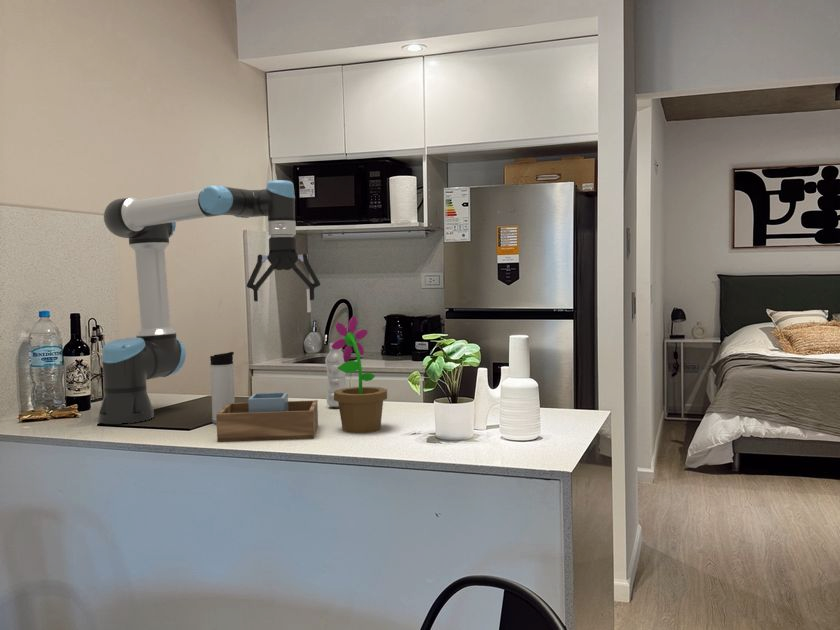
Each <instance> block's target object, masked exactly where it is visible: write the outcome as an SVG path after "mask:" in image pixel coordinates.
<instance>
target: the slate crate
mask: <svg viewBox="0 0 840 630" xmlns="http://www.w3.org/2000/svg"><path fill="white" fill-rule="evenodd" d="M247 401H248V402H247V403H248V404H249V413H252V412H283V411H288V401H289V393H288V392H259V393H257V392H256V393H255V392H254V393H253V394H252V395H251V396H250V397H249V398H248V400H247Z"/></svg>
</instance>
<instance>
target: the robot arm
mask: <svg viewBox="0 0 840 630" xmlns="http://www.w3.org/2000/svg"><path fill="white" fill-rule="evenodd" d="M294 187H295V186H294V183H293V182H292V181H291V180H283V179H278V180H277V179H275V180H274V179H273V180H269V181H268V182H266V188H264V189H245V188H236V187H235V188H234V187H229V186H223V185H218V184H215V185H214V184H213V185H212V184H211V185H207V186H205V187H204V188H203V189H199V190H191V191H186V192H180V193H173V194H168V195H162V196H161V195H160V196H156V197H150V198H144V199H139V198H136V197H125V198H117V199H115V200H113V201H111V202H110V203H109V204H108V205H107V206H106V207H105V209H104V213H103V221H104V225H105V226H106V228H107V230H108V231H109V232H110V233H111V234H113V235H115V236H117V237H119V238H123V239H128V246H129V247H130V248H132V249H133V250H134V255H135V267H136V268H135V269H136V281H137V291H138V292H137V293H138V304H139V305H138V308H139V316H140V317H139V318H140V320H139V321H140V330H139V331H138V332H137V334H136V337H127V338H120V339H115V340H111V341H108V342H106V343H105V344H104V345H103V346H102V350H101V351H102V352H101V355H102V356H101V363H102V377H103V398H102V401H101V405H100V407H99V411H98V422H99V423H100V424H103V425H104V424H105V425H123V424H122V423H128V424H136V423H140V421H142V422H145V420H146V421H149V419H150V420H151V418H152V419H154V418H155V410H154V406H153V405H152V402H151V399H150V397H149V395H148V391H147V380H153V379H158V378H166V377H168V376H171V375H174V374H176V373H178V372H179V371H180V370H181V368H183V366H184V364H185V361H186V354H187V353H186V347H185V345H184V344H183V343H182V341H181V340H180V339H179V338H177V331H175V330H174V329H173V328H172V327H171V317H170V314H171V313H170V305H169V303H170V302H169V293H168V292H169V291H168V278H167V277H168V276H167V265H166V264H167V263H166V250H165V249H166V248H167V247H168V246H169V245H170V238H171V237H172V236H173V235H174V232H175V231H176V227H177V226H176V225H177V222H183V221H189V220H195V219H202V218H209V217H217V216H234V217H236V218H242V219H243V218H244V219H249V218H257V217H267V222H268V226H267V228H268V236H270V237H269V238H268V255H264V254H258V255H257V260H256V264H255V266H254V269H253V270H252V273H251V275H250V277H249V280H248V281H247V283H246V287H247V288H248V289H250V290H253V301H254V302H257V314H263V296H262V295H263V294H262V293H263V292H262V289H260V287H262V285H263V284H264V283H265V281H266V280H267V279H268V278H269V276H271V274H272V273H273V271H274V270H276V271H291V270H292V271H294V272H295V274H297V276H298V277H299V278H300V279H301V280H302V281H303V282H304V283H305V284H306V286H307V287H308V288H306V309H307V310H306V311H307V313H311V312H312V305H311V301H314V300H315V289H316V288H317V287H320V286H321V282H320V280H319V278H318V276H317V274H316V272H315V271H314V269H313V266H312V265H311V263H310V261H309V255H308V254H307V253H303V254H298V253H297V238H296V237H294V236H296V235H297V233H296V231H297V230H296V229H297V224H296V223H297V222H296V203H295V202H296V195H295V188H294ZM298 260H300V261H301V262H302V263H304V266H305V268H306V270H307V271H308V273H309V275H310V277H311V279H312V281H313V283H312V282H311V280H310V279H309V278H308V277H307V276H306V275H305V273H303V271H302V270H301V269H300V268H299V267H298V265H296V263H297V261H298ZM266 261H268V262H269V264H270V265H269V267H267V269H266V271H265V272H264V273H263V275H261V277H260V278H259V279H258V281H257V282H256V279H257V276H258V275H259V273H260V270H261V268H262V266H263V263H266ZM255 282H256V283H255ZM254 283H255V284H254ZM153 417H154V418H153ZM135 422H136V423H135Z"/></svg>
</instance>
